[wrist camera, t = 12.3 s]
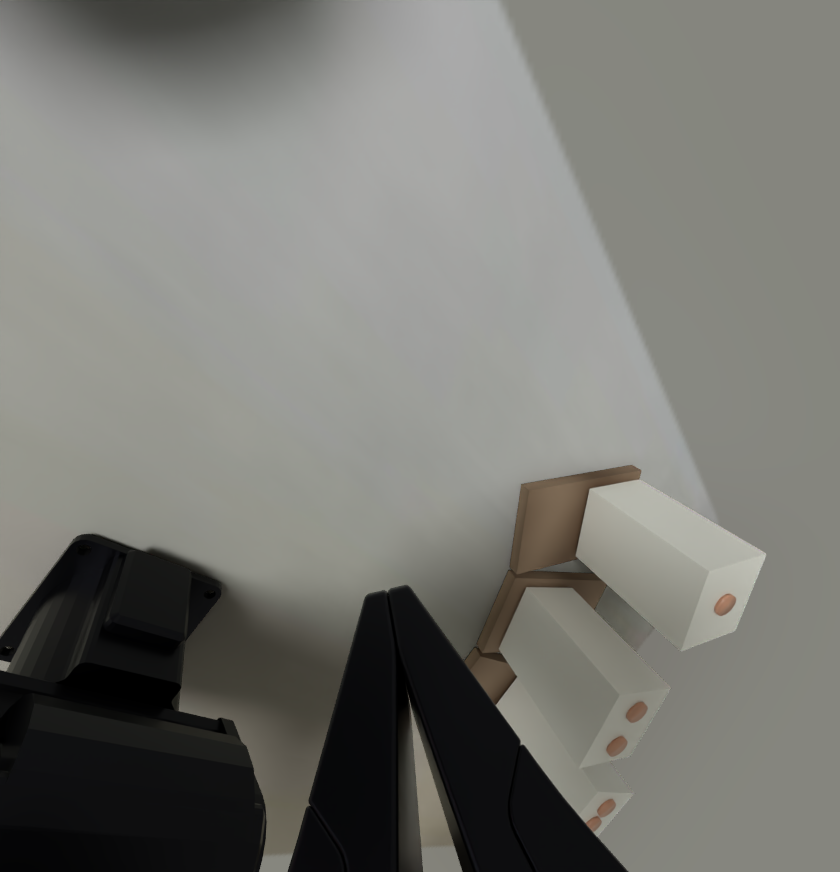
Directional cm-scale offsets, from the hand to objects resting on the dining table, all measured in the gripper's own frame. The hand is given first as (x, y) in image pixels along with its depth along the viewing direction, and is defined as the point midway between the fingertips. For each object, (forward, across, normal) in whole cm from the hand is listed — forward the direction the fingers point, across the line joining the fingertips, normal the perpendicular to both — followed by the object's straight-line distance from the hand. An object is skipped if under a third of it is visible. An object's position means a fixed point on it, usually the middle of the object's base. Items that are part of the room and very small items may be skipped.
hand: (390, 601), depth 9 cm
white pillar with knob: (+14, -14, +15) cm, 25 cm away
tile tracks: (+12, -9, +20) cm, 25 cm away
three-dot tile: (+11, -7, +29) cm, 31 cm away
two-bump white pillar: (+12, -8, +21) cm, 26 cm away
